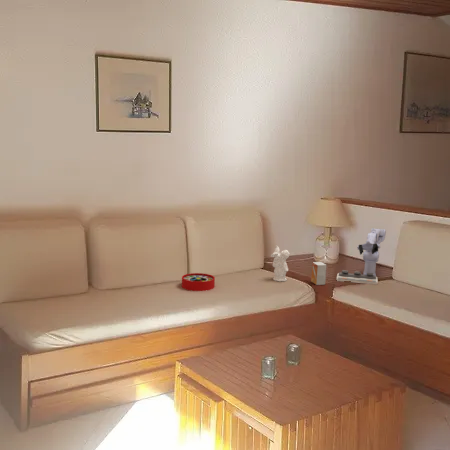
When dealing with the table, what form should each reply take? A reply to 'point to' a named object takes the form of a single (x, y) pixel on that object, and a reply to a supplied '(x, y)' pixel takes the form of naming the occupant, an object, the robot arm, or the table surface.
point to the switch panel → (357, 278)
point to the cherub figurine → (280, 264)
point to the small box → (318, 273)
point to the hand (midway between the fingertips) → (366, 252)
